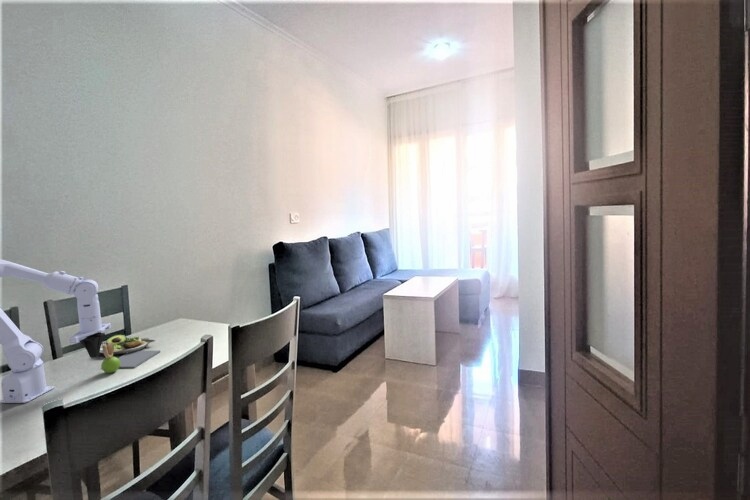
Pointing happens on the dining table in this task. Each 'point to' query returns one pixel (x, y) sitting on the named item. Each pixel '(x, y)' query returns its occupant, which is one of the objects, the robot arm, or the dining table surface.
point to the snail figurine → (109, 359)
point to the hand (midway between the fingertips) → (94, 356)
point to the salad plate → (126, 344)
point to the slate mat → (135, 358)
